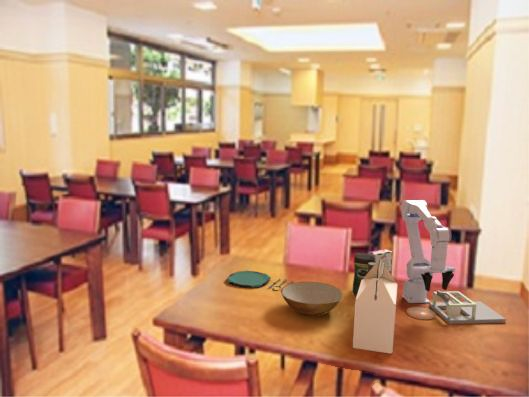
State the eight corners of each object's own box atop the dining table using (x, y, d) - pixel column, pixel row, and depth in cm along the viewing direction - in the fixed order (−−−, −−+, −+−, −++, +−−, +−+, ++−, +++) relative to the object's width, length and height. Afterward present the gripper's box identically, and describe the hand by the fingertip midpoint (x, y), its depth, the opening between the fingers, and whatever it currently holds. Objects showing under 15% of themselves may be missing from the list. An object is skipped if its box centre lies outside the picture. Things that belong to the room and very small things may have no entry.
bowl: (349, 305, 204) (350, 287, 203) (331, 329, 181) (332, 308, 180) (293, 295, 214) (294, 277, 213) (270, 316, 192) (270, 296, 190)
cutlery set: (239, 272, 244) (239, 267, 243) (295, 282, 232) (296, 278, 232) (220, 285, 226) (220, 280, 225) (280, 297, 214) (280, 292, 214)
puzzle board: (449, 324, 188) (449, 320, 188) (428, 305, 206) (429, 302, 205) (505, 322, 190) (505, 319, 190) (480, 304, 208) (480, 301, 208)
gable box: (392, 354, 163) (398, 274, 158) (352, 348, 167) (357, 270, 162) (394, 327, 184) (399, 256, 179) (358, 322, 188) (363, 252, 183)
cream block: (450, 316, 195) (451, 303, 194) (445, 312, 199) (446, 299, 198) (459, 316, 196) (461, 303, 195) (455, 312, 200) (456, 299, 199)
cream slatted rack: (448, 317, 190) (449, 300, 188) (432, 303, 203) (433, 287, 202) (475, 317, 191) (477, 299, 190) (457, 303, 205) (459, 287, 203)
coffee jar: (375, 292, 219) (377, 252, 216) (372, 298, 212) (375, 257, 209) (353, 289, 223) (355, 250, 220) (350, 295, 216) (352, 254, 212)
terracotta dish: (413, 320, 191) (413, 318, 191) (402, 308, 202) (402, 307, 202) (440, 319, 192) (440, 317, 192) (428, 308, 203) (428, 306, 203)
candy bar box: (383, 281, 234) (385, 248, 232) (390, 284, 230) (393, 251, 227) (365, 285, 229) (367, 251, 226) (372, 288, 225) (375, 254, 222)
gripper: (427, 261, 189) (425, 294, 191) (460, 259, 192) (457, 292, 194) (418, 255, 195) (415, 288, 198) (450, 254, 199) (447, 286, 201)
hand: (435, 289), depth 196 cm, fingers open, 7 cm apart
